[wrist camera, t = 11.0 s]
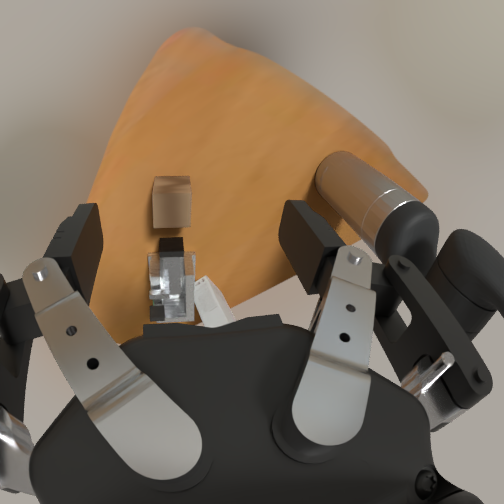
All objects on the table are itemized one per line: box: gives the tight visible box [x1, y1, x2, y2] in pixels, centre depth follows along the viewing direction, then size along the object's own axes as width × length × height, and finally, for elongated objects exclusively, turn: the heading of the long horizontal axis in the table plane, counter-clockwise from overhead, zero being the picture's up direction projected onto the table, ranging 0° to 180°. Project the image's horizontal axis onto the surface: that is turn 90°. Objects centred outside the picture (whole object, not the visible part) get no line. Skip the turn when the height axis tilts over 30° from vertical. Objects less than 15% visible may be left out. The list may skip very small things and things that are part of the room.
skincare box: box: [194, 276, 236, 328], centre depth 48 cm, size 6×4×12 cm
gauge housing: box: [148, 251, 195, 323], centre depth 46 cm, size 8×11×6 cm
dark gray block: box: [150, 305, 165, 321], centre depth 42 cm, size 2×1×3 cm, turn 82°
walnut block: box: [152, 176, 192, 228], centre depth 37 cm, size 5×5×6 cm
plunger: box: [149, 237, 184, 299], centre depth 42 cm, size 6×10×6 cm, turn 172°
